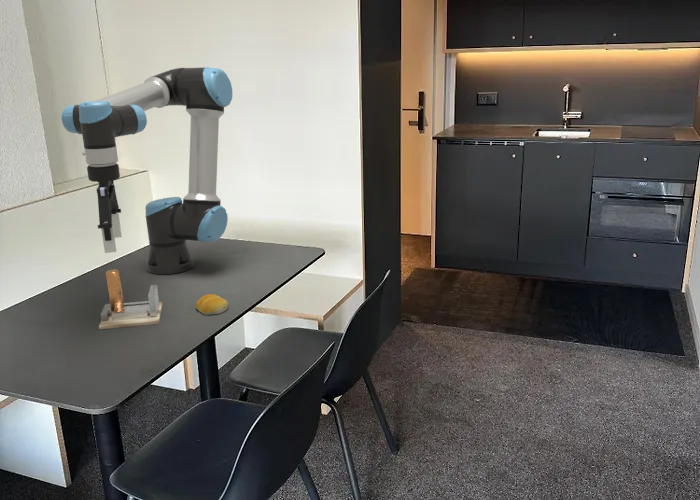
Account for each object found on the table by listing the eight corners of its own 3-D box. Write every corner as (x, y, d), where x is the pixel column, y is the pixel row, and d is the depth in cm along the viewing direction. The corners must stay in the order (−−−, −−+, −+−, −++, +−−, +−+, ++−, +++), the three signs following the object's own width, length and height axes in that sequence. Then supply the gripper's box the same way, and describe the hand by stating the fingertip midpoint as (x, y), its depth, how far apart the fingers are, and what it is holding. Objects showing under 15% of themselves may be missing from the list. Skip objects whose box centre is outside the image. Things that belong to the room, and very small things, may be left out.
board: (107, 309, 180) (107, 306, 180) (162, 304, 183) (162, 301, 183) (99, 329, 167) (98, 326, 167) (158, 323, 170) (158, 321, 170)
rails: (106, 310, 177) (105, 304, 177) (150, 306, 179) (149, 300, 179) (101, 321, 170) (100, 314, 170) (147, 317, 172) (146, 310, 172)
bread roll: (208, 318, 173) (206, 305, 172) (192, 309, 180) (190, 295, 179) (234, 310, 178) (233, 296, 177) (218, 301, 185) (217, 288, 184)
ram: (114, 308, 178) (108, 267, 174) (159, 304, 180) (154, 263, 176) (109, 320, 170) (103, 277, 167) (156, 315, 172) (151, 273, 169)
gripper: (93, 157, 172) (104, 232, 179) (78, 173, 149) (91, 260, 156) (122, 155, 174) (132, 230, 180) (112, 171, 151) (124, 257, 157)
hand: (113, 244), depth 168 cm, fingers open, 13 cm apart
